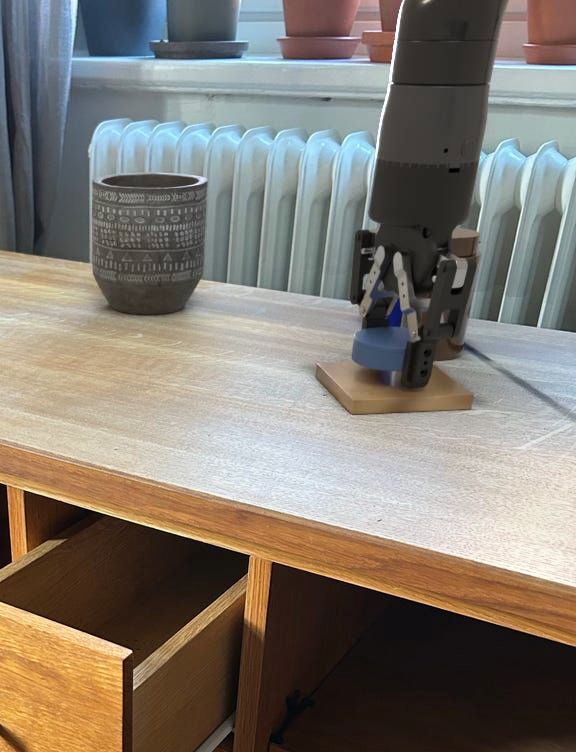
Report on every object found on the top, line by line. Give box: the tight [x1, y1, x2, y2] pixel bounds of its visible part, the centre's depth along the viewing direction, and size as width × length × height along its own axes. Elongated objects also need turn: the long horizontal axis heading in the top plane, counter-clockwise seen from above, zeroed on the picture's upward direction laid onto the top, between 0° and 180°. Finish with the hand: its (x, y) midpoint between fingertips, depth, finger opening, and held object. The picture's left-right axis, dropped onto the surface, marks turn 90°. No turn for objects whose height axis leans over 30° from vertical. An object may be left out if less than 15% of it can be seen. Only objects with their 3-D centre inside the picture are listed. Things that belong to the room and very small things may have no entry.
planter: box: [91, 171, 209, 316], centre depth 103 cm, size 12×12×13 cm
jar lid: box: [351, 327, 410, 371], centre depth 79 cm, size 6×6×2 cm
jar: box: [400, 227, 482, 361], centre depth 88 cm, size 6×6×11 cm
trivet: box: [314, 360, 475, 415], centre depth 81 cm, size 10×10×1 cm
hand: (391, 373), depth 80 cm, fingers closed on jar lid, 6 cm apart
